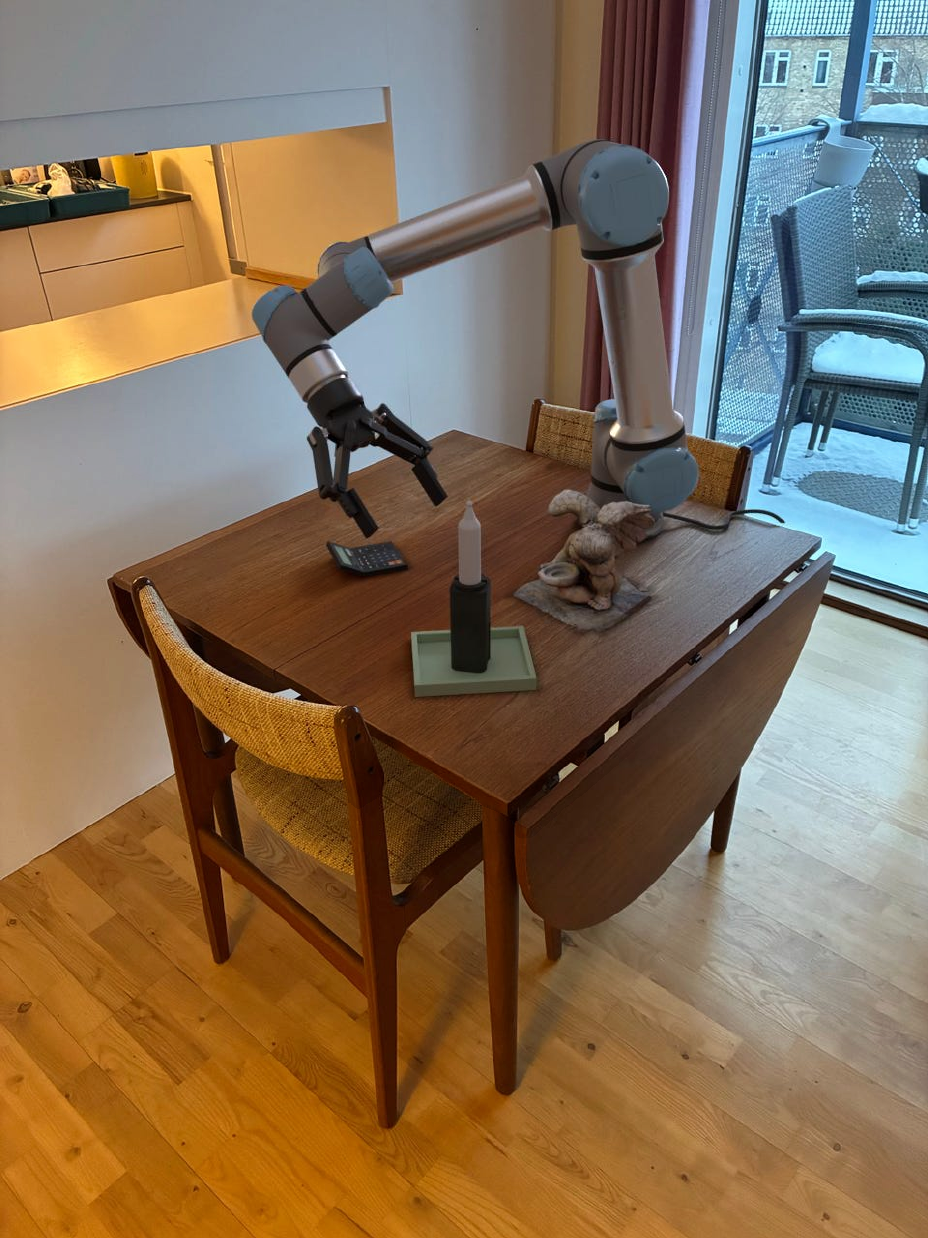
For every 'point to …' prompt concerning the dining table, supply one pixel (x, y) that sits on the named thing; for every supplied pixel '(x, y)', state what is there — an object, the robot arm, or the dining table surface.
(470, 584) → the candle
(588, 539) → the cherub figurine
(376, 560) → the calculator
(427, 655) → the tray
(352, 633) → the dining table surface
